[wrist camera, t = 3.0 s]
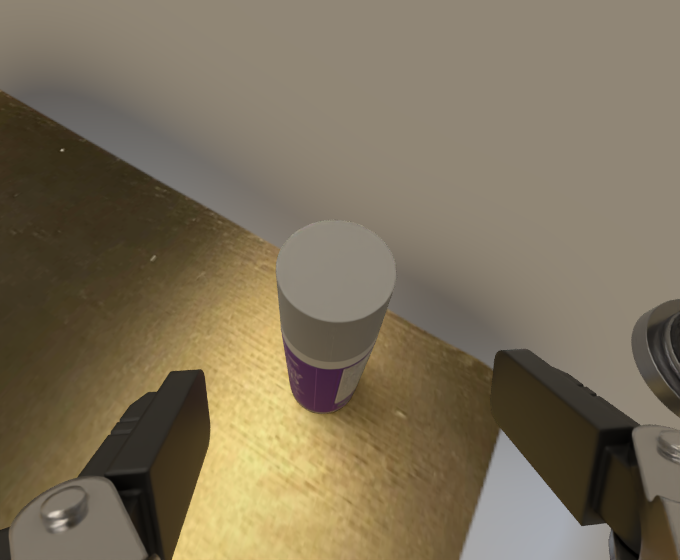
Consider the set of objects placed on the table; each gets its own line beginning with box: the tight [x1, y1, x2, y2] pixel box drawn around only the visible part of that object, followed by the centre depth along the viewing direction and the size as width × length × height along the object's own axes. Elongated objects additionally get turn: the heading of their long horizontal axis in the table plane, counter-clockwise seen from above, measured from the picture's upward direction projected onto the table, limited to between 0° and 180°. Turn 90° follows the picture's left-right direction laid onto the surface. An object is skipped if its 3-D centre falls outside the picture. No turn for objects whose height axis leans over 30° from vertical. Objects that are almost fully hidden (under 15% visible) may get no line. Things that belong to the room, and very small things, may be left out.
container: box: [276, 220, 397, 414], centre depth 20 cm, size 5×5×15 cm
